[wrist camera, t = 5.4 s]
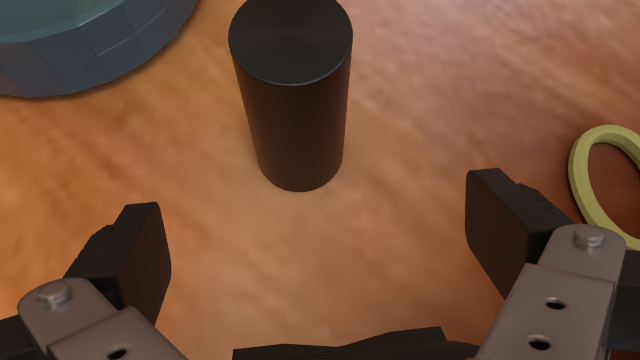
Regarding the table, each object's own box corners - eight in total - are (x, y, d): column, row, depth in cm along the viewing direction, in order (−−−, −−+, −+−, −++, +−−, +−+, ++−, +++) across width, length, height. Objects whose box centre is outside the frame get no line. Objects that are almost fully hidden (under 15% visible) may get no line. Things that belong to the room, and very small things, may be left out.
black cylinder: (260, 196, 29) (230, 91, 20) (254, 119, 31) (225, -11, 22) (347, 187, 30) (361, 79, 20) (337, 111, 31) (344, -21, 22)
